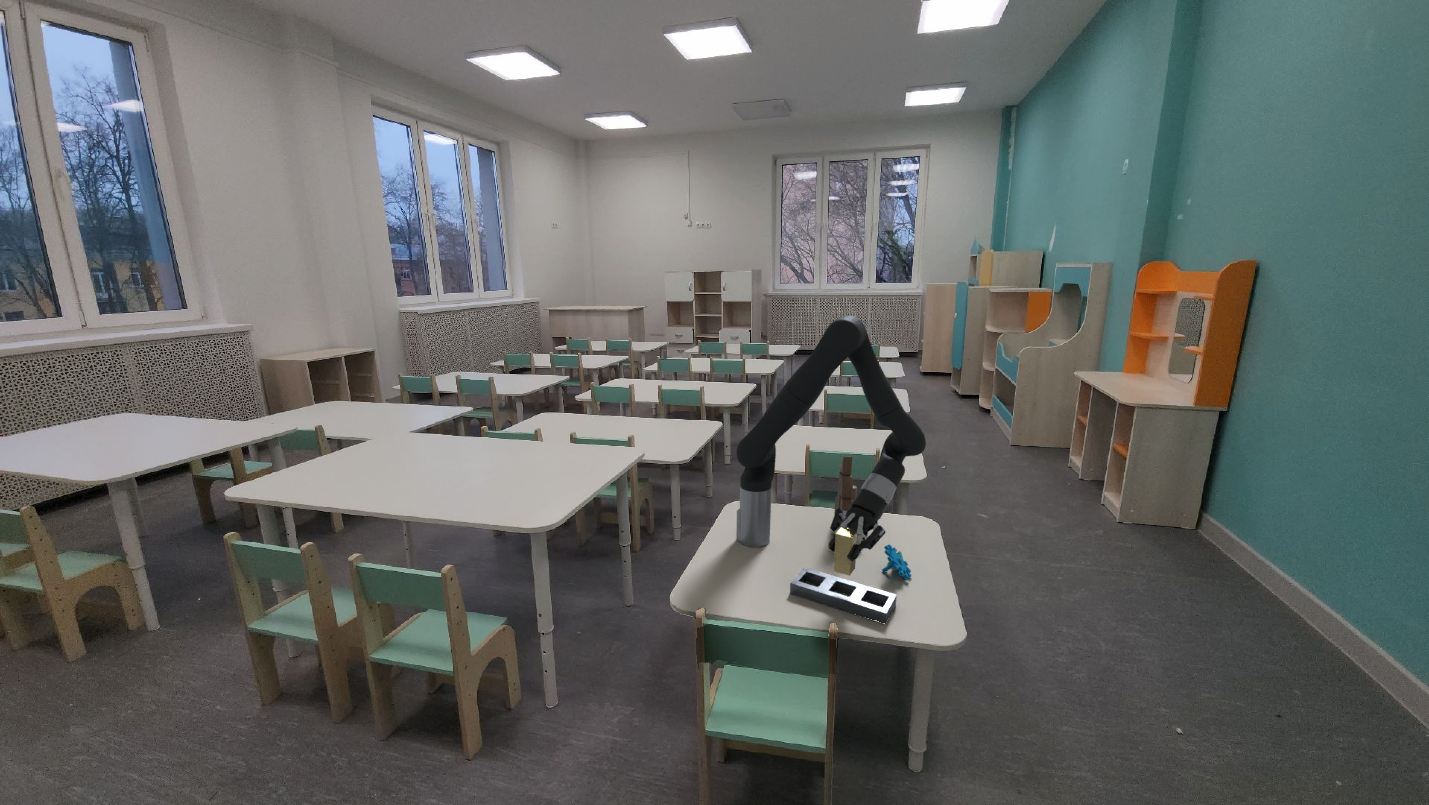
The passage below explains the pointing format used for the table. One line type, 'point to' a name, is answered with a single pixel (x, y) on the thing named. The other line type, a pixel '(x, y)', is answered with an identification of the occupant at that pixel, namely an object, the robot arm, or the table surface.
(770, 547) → the table surface
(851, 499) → the wooden toy
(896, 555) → the gear
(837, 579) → the grey flat frame block
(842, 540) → the brass post
